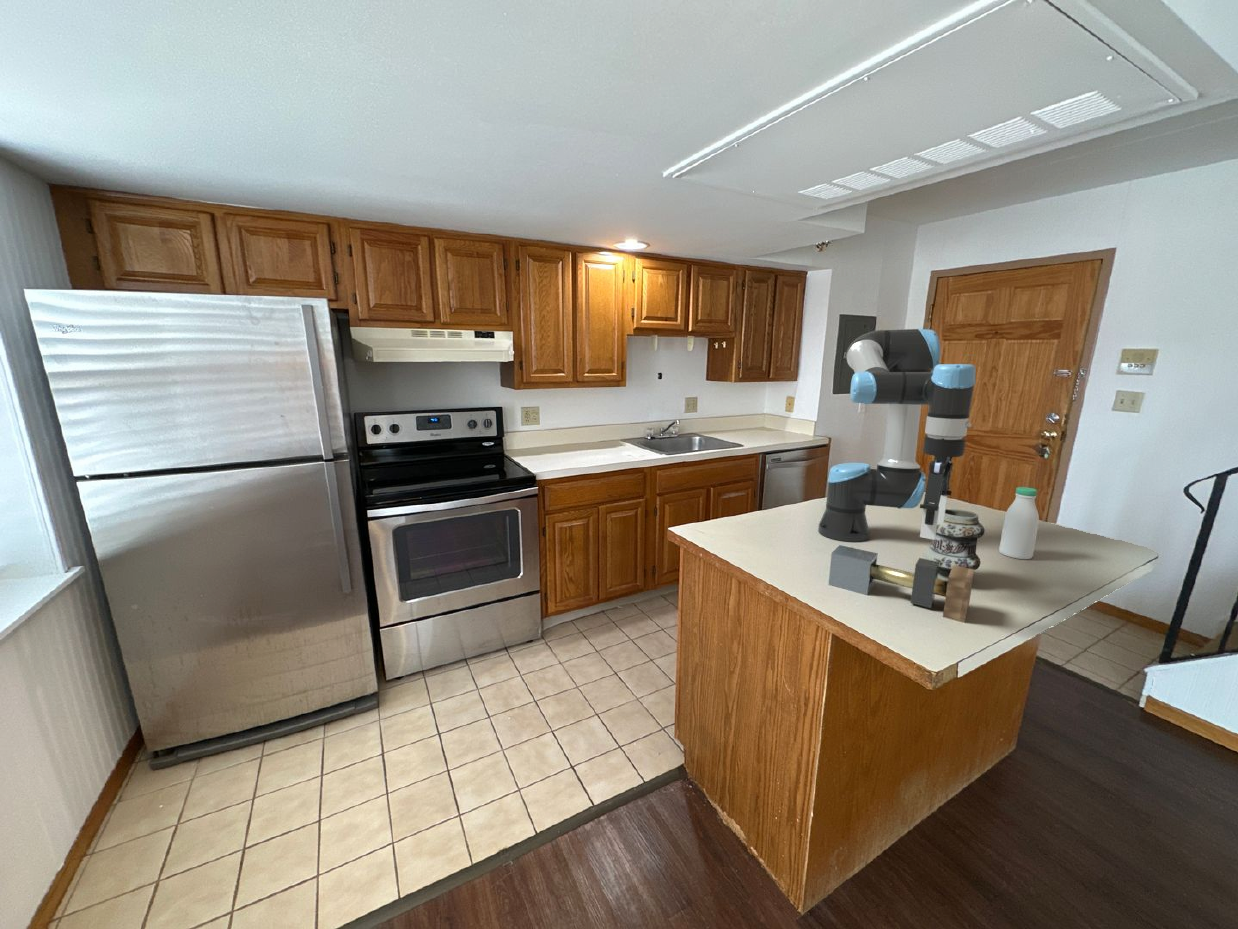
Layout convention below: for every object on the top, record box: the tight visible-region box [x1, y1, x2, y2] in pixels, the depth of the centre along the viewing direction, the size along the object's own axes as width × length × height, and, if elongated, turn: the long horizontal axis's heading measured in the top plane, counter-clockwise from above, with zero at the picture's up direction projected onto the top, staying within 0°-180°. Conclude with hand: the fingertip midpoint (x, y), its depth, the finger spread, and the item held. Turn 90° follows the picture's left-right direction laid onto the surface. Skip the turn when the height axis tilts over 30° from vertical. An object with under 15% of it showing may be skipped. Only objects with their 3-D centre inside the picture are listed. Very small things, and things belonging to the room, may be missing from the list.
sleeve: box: [828, 544, 879, 596], centre depth 122 cm, size 9×7×8 cm
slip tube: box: [870, 557, 948, 609], centre depth 114 cm, size 20×5×10 cm, turn 50°
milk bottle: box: [998, 486, 1040, 560], centre depth 140 cm, size 8×8×20 cm
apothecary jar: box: [923, 507, 986, 581], centre depth 125 cm, size 12×12×18 cm
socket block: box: [942, 565, 975, 623], centre depth 109 cm, size 4×8×10 cm, turn 140°
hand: (932, 529), depth 110 cm, fingers open, 13 cm apart
